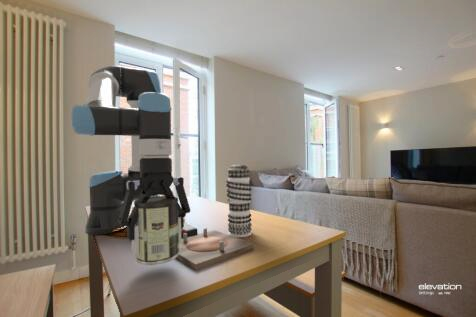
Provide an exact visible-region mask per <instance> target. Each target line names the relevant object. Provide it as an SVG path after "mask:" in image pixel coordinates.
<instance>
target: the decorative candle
mask: <svg viewBox="0 0 476 317" xmlns="http://www.w3.org/2000/svg"><path fill="white" fill-rule="evenodd" d="M227 170H228V171H227V172H228V175H227V176H228V178H227V180H226V181H225V183H226V185H225V186H226V187H227V189H226V196H227V197H228V198H227V203H228V214H227V218H228V219H227V221H228V223H227V227H228V228H227V230H228V235H230V236H232V237H235V238H245V237H246V238H247V237H250V236H251V235H252V230H253V229H252V226H253V225H252V223H251V221H252V218H251V217H252V214H251V208H250V205H251V204H250V203H251V202H252V198H251V196H252V194H251V193H250V191H252V188H251V187H252V184H251V183H250V180H251V179H250V168H249V167H248V165H247V164H232V165H230V167H229V168H228V169H227Z"/></svg>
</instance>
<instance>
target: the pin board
mask: <svg viewBox="0 0 476 317" xmlns="http://www.w3.org/2000/svg"><path fill="white" fill-rule="evenodd" d="M251 250H254V243H252V242H249V241H246V240H244V239H240V238H239V237H232V236H230V235H229V234H227V233H223V232H221V231H218V230H215V229H214V230H209V231H208V228H206V227H204V228H203V232H201V233H198V234H197V235H194V236H190V237H187V233H184V234H183V238H182V239H181V243H179V255H178V256H177V257H176V258H175V259H177V260H179V261H181V262H182V263H183V264H185V265H187V266H188V267H189V268H191V269H193V270H195V271H199V270H201V269H203V268H206V267H209V266H212V265H214V264H217V263H219V262H222V261H225V260H229V259H230V258H234V257H235V256H236V257H237V256H239V255H241V254H243V253H246V252H249V251H251Z"/></svg>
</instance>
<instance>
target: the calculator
mask: <svg viewBox="0 0 476 317" xmlns="http://www.w3.org/2000/svg"><path fill="white" fill-rule="evenodd" d="M184 233H187V237H190V236H194V235H197V234H199V233H198V228H196V227H195V226H193V225H191V224H189V223H187V222H184V227H183V228H181V239H182V238H183V234H184Z"/></svg>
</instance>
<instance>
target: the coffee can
mask: <svg viewBox="0 0 476 317" xmlns="http://www.w3.org/2000/svg"><path fill="white" fill-rule="evenodd" d="M174 197H175V198H174V199H168V198H166V197H165V195H160V196H159V195H158V196H156V197H150V198H149V199H148V200H147V202H146V203H139V202H137V201H138V200H136V201H133V205H134V206H135V207H136V208H138V211H139V218H138V220H137V222H136V225H138V226H139V254H138V255H135V261H136V262H137V263H138V264H141V265H145V266H155V265H162V264H165V263H169V262H171V261H173V260H175V259H177V258H176V257H177V256H178V255H179V241H178V203H179V198H178V196H174Z"/></svg>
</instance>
